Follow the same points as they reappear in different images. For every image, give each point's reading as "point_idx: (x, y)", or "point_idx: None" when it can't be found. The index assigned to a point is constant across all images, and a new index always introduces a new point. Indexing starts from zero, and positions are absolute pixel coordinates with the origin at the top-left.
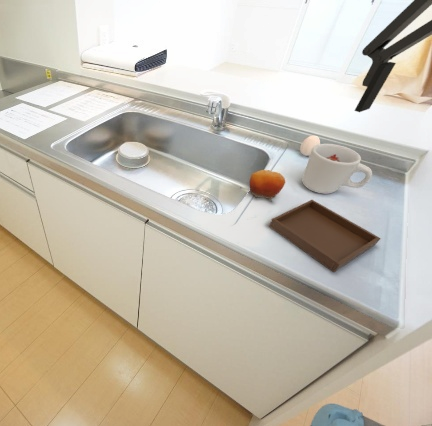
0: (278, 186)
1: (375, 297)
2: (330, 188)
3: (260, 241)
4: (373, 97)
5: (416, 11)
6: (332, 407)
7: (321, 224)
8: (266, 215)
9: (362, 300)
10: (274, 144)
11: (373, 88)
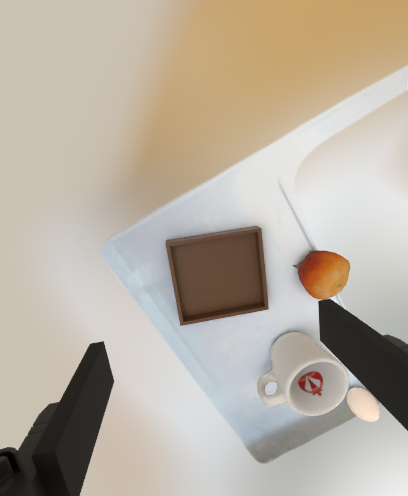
0: (306, 275)
1: (124, 253)
2: (274, 349)
3: (238, 194)
4: (337, 346)
5: None
6: None
7: (230, 289)
8: (274, 239)
9: (125, 236)
10: None
11: (356, 335)
